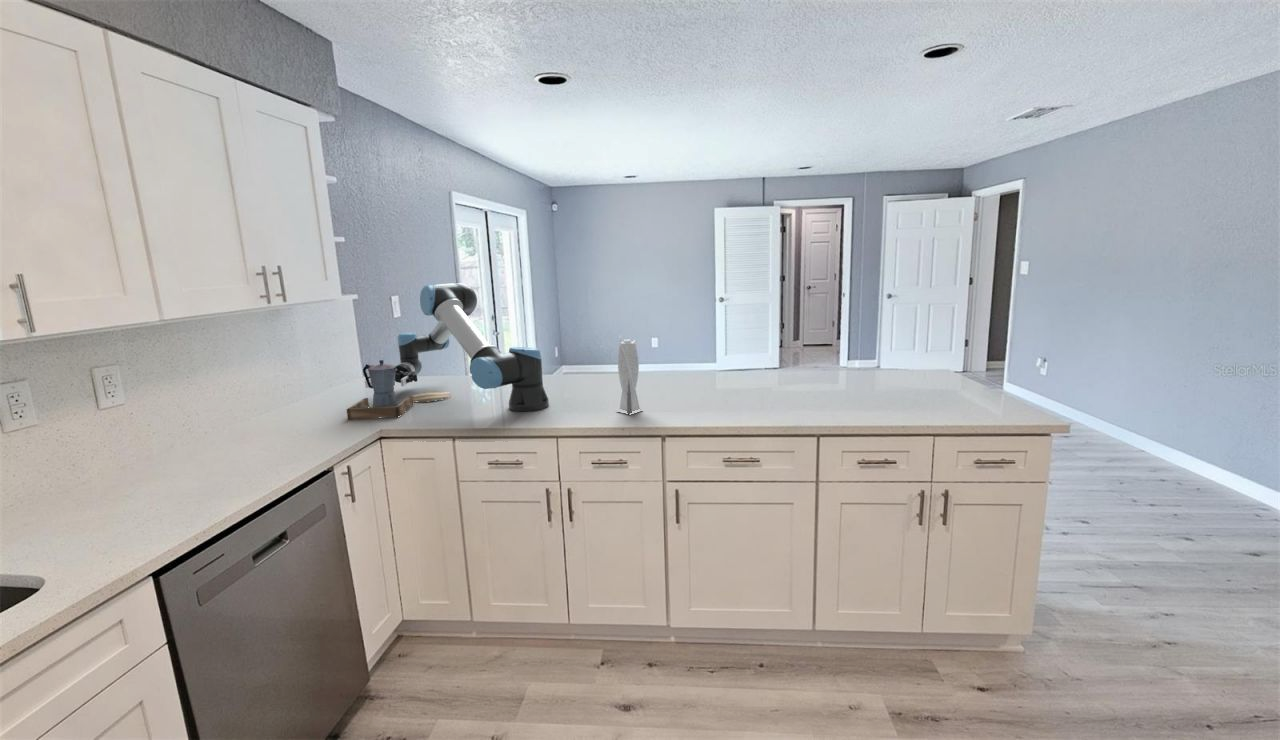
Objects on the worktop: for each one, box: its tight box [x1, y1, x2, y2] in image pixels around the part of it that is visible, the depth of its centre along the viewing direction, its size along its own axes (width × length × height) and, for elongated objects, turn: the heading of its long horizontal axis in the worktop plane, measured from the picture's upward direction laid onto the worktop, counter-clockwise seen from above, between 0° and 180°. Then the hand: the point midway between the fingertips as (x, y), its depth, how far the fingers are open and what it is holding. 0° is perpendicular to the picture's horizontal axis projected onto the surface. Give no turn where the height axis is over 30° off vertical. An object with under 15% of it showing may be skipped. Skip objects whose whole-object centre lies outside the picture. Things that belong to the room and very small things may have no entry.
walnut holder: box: [346, 395, 415, 421], centre depth 215 cm, size 17×18×4 cm
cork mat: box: [412, 390, 452, 402], centre depth 236 cm, size 16×16×1 cm
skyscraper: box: [617, 335, 641, 414], centre depth 205 cm, size 8×8×28 cm
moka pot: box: [362, 359, 398, 407], centre depth 216 cm, size 10×15×20 cm, turn 78°
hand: (384, 383), depth 220 cm, fingers open, 13 cm apart
